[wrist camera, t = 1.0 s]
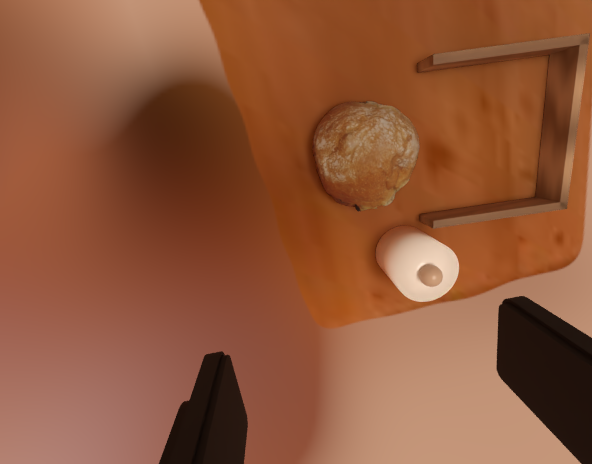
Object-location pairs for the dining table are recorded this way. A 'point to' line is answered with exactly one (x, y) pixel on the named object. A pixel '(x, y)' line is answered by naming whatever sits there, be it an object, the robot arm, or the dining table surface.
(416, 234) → the pot
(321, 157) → the bread roll
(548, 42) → the open rail frame
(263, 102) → the dining table surface
